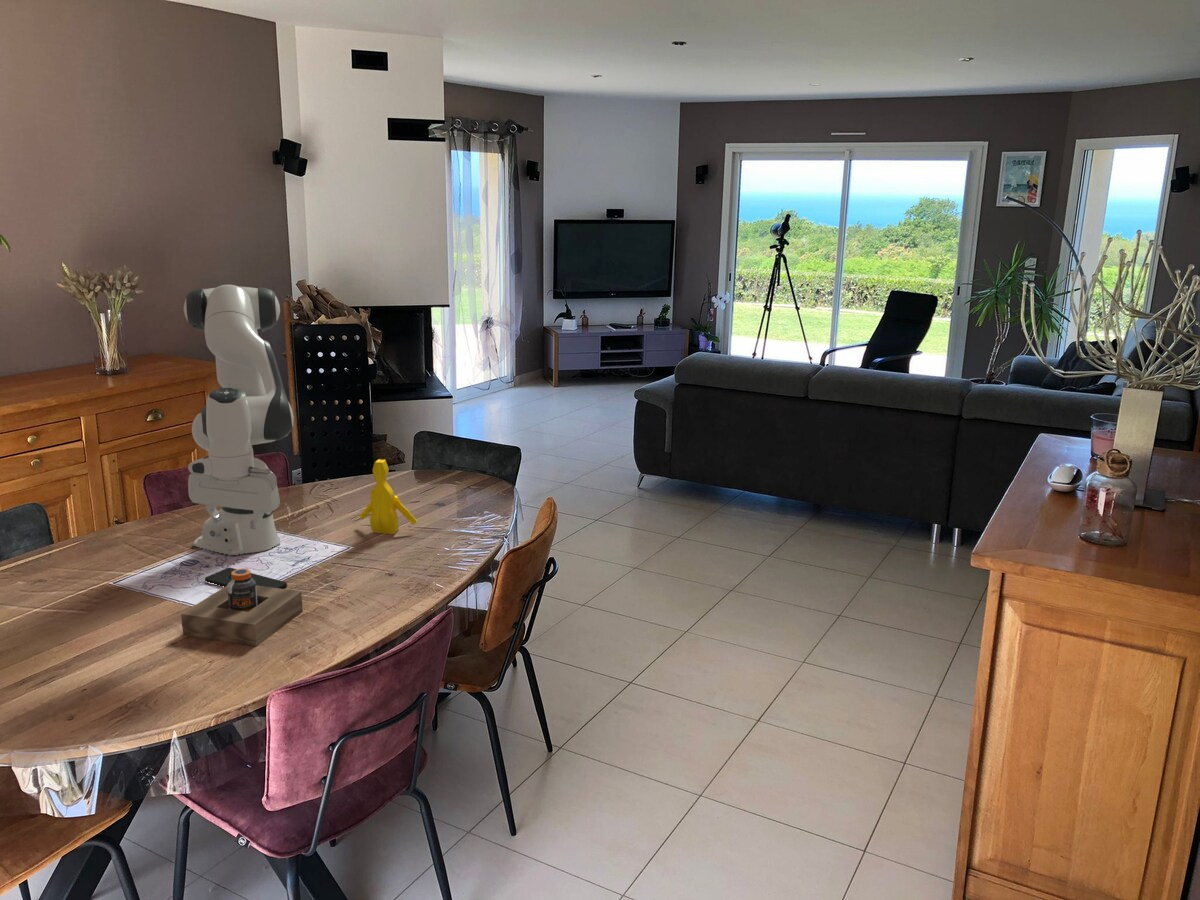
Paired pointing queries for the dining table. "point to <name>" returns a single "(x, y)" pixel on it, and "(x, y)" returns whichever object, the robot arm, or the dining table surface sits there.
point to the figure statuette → (384, 503)
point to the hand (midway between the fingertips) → (236, 525)
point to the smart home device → (225, 576)
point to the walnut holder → (242, 616)
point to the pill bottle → (242, 591)
